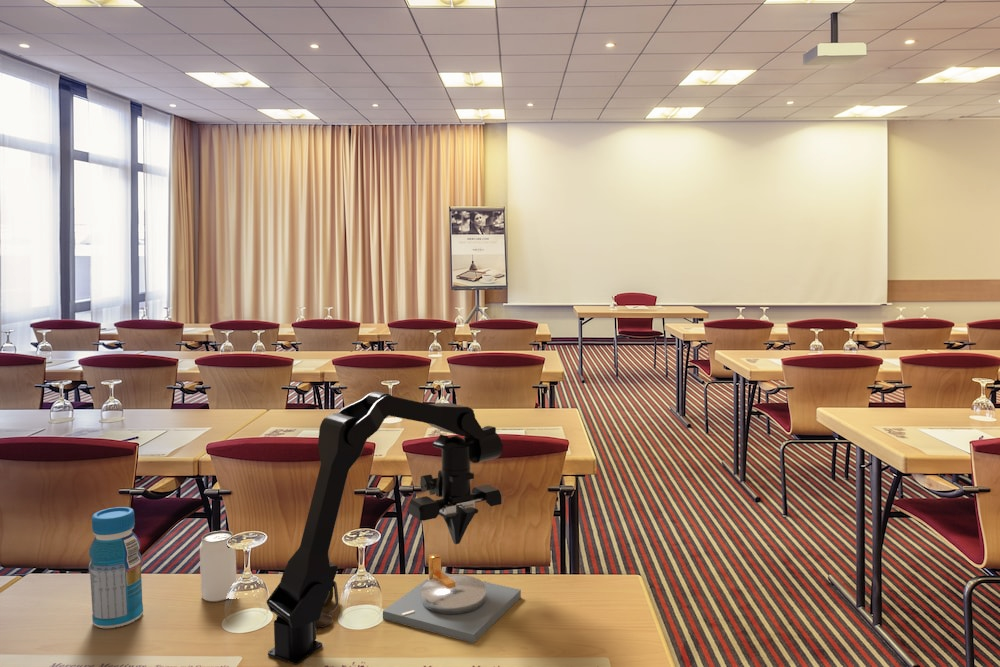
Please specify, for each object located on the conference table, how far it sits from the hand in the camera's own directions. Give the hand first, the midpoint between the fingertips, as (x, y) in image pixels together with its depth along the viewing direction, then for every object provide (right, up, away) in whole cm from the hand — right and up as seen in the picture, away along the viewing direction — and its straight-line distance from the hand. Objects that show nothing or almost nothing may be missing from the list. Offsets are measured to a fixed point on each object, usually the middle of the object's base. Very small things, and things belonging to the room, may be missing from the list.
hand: (456, 543), depth 140 cm
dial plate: (0, -10, -8) cm, 13 cm away
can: (-46, -10, -3) cm, 47 cm away
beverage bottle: (-61, -10, -12) cm, 63 cm away
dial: (-1, -8, -7) cm, 11 cm away
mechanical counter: (-26, -10, -10) cm, 30 cm away
